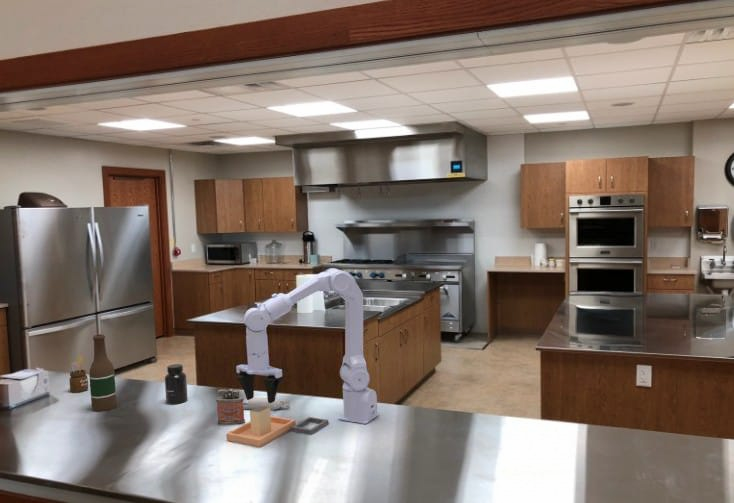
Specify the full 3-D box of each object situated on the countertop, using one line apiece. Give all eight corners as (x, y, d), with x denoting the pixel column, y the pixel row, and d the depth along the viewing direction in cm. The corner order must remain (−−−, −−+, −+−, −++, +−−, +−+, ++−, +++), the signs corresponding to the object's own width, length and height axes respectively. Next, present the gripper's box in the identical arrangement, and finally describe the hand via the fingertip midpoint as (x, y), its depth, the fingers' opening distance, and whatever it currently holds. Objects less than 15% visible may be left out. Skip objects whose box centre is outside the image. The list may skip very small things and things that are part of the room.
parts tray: (295, 426, 167) (295, 420, 167) (260, 447, 154) (259, 440, 154) (263, 421, 173) (263, 414, 173) (226, 440, 160) (226, 433, 160)
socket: (328, 424, 169) (328, 419, 168) (311, 434, 161) (311, 430, 161) (309, 420, 172) (309, 416, 172) (291, 431, 164) (291, 427, 164)
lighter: (246, 420, 174) (244, 387, 174) (242, 425, 171) (240, 391, 170) (220, 420, 175) (217, 387, 174) (216, 425, 172) (213, 391, 171)
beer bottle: (121, 407, 192) (115, 334, 190) (96, 413, 187) (90, 339, 185) (112, 402, 198) (106, 331, 196) (88, 408, 192) (81, 335, 190)
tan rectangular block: (271, 429, 165) (270, 406, 164) (259, 435, 160) (258, 412, 160) (263, 427, 166) (261, 405, 166) (251, 434, 162) (249, 411, 161)
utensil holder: (67, 393, 209) (64, 360, 208) (74, 388, 216) (71, 356, 215) (84, 392, 210) (81, 359, 209) (91, 387, 216) (88, 355, 215)
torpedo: (231, 411, 183) (230, 391, 183) (237, 406, 188) (236, 386, 188) (287, 412, 181) (286, 391, 180) (291, 407, 185) (290, 386, 185)
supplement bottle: (165, 405, 191) (162, 369, 190) (167, 399, 198) (164, 364, 197) (187, 403, 193) (184, 367, 192) (188, 396, 199) (185, 362, 199)
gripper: (227, 353, 162) (230, 401, 163) (269, 357, 155) (272, 408, 156) (244, 347, 168) (247, 394, 169) (285, 351, 161) (288, 400, 162)
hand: (260, 400), depth 163 cm, fingers open, 7 cm apart
